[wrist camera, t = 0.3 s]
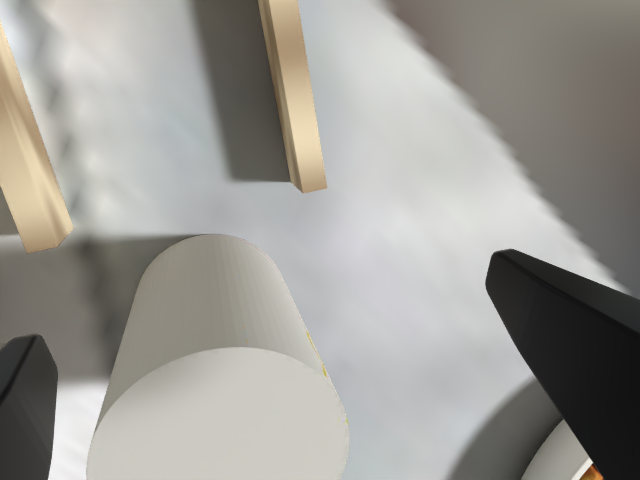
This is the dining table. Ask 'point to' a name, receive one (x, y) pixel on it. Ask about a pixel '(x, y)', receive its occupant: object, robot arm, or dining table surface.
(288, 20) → the open wooden frame
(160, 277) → the cup
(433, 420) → the dining table surface
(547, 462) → the bowl
